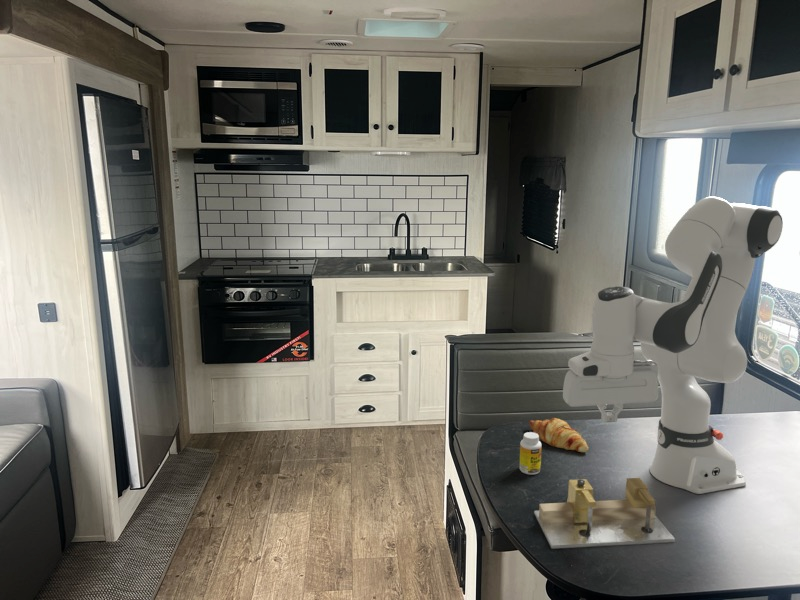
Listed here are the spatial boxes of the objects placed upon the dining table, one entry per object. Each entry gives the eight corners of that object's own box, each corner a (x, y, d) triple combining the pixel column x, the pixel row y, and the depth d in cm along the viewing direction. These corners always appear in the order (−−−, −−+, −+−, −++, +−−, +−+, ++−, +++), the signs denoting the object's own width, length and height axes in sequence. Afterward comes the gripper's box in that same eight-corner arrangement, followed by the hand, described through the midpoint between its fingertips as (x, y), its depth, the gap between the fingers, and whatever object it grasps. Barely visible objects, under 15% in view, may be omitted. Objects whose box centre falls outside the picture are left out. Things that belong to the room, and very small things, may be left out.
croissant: (592, 462, 168) (602, 436, 169) (574, 457, 162) (584, 430, 163) (534, 435, 185) (543, 412, 185) (516, 430, 178) (525, 405, 179)
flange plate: (646, 508, 139) (646, 504, 139) (674, 541, 127) (675, 538, 127) (534, 513, 138) (534, 510, 138) (551, 548, 125) (551, 544, 125)
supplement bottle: (530, 477, 154) (531, 441, 152) (515, 469, 159) (515, 434, 156) (545, 471, 157) (546, 436, 155) (529, 463, 162) (531, 428, 159)
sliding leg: (583, 508, 138) (585, 475, 136) (599, 533, 128) (601, 497, 126) (566, 509, 137) (568, 475, 135) (581, 534, 128) (583, 498, 126)
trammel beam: (647, 508, 138) (649, 477, 136) (666, 531, 129) (669, 499, 127) (538, 513, 137) (539, 482, 135) (550, 538, 128) (551, 504, 126)
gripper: (652, 354, 131) (648, 412, 134) (561, 360, 130) (559, 417, 133) (665, 364, 125) (661, 424, 128) (570, 369, 124) (569, 430, 127)
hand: (609, 421), depth 130 cm, fingers closed
